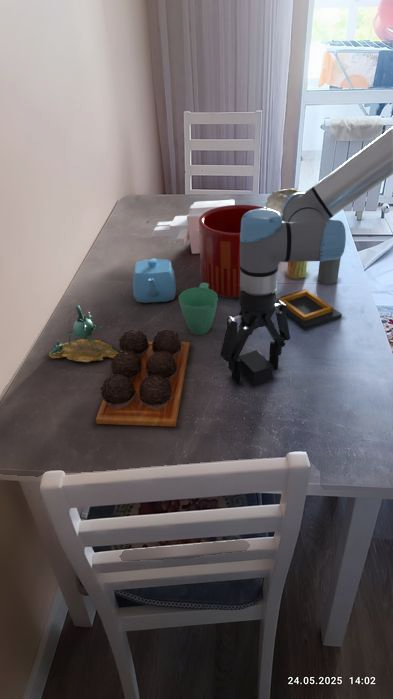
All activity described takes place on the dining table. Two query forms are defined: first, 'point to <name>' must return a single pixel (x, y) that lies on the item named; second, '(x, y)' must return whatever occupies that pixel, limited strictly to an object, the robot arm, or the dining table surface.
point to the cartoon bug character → (83, 343)
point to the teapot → (154, 281)
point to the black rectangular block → (256, 368)
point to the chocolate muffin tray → (145, 380)
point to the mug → (198, 308)
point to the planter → (222, 248)
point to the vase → (296, 269)
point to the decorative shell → (279, 199)
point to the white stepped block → (188, 224)
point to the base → (308, 309)
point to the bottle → (328, 271)
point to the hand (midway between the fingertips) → (254, 373)
